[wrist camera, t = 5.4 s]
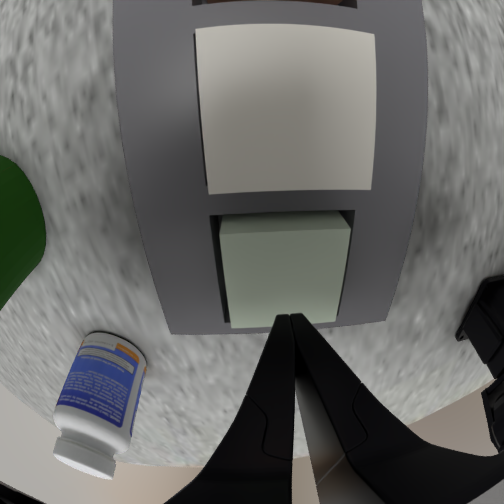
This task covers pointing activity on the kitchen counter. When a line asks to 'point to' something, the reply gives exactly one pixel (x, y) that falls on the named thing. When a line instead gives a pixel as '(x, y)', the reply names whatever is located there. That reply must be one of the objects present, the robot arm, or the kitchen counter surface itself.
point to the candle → (18, 229)
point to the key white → (287, 107)
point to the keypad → (216, 205)
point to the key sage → (283, 265)
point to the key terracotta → (324, 0)
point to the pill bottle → (99, 404)
